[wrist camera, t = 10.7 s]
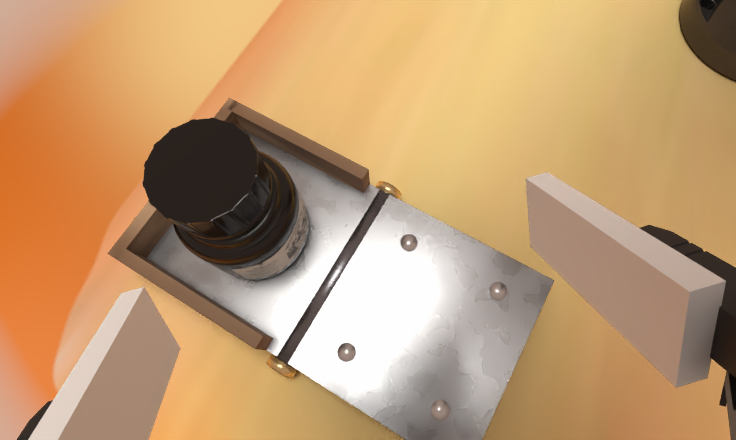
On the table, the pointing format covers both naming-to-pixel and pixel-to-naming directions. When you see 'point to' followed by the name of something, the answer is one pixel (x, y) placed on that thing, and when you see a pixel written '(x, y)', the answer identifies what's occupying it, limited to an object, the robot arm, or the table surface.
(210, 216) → the ink bottle
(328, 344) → the hinge
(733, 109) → the table surface
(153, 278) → the holder
